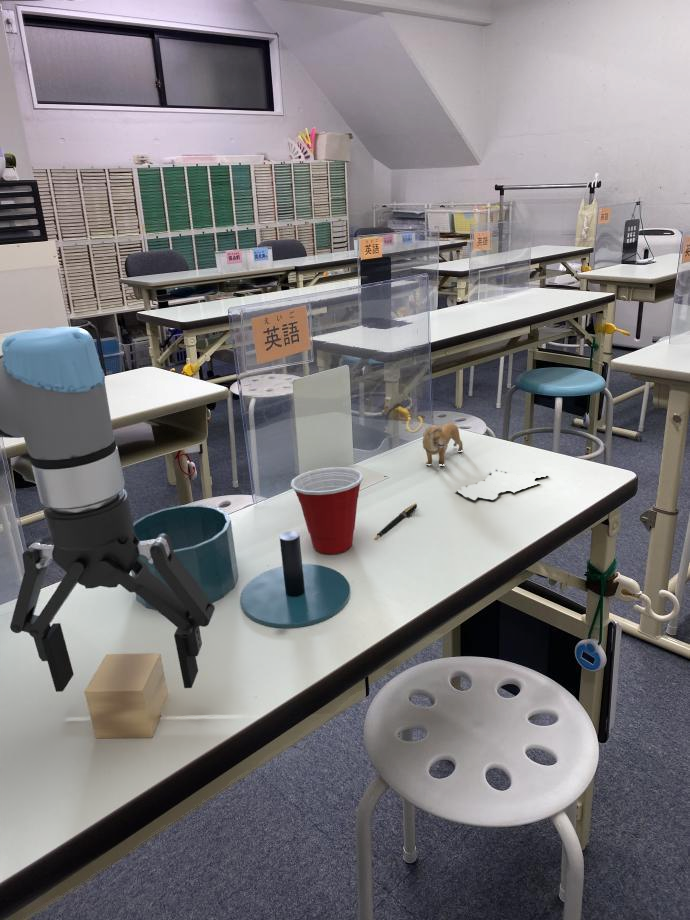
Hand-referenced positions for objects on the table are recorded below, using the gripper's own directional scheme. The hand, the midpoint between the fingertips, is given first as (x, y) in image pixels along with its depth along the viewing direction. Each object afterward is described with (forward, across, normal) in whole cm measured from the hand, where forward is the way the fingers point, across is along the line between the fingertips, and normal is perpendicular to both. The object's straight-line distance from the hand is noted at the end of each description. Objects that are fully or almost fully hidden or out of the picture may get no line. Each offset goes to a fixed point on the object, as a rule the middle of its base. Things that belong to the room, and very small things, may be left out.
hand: (127, 681), depth 72 cm
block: (+5, 0, 0) cm, 5 cm away
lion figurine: (+5, -39, -70) cm, 80 cm away
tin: (+5, +1, -26) cm, 27 cm away
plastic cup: (+5, -19, -36) cm, 41 cm away
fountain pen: (+5, -29, -43) cm, 52 cm away
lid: (+4, -15, -22) cm, 27 cm away
